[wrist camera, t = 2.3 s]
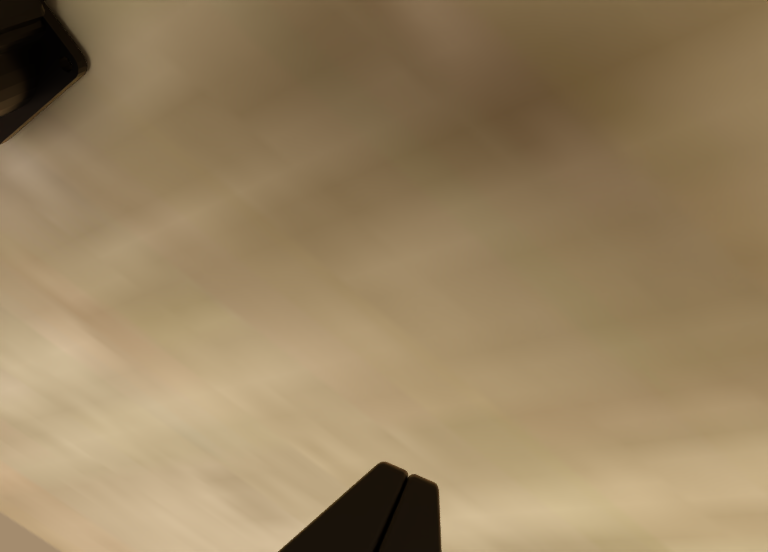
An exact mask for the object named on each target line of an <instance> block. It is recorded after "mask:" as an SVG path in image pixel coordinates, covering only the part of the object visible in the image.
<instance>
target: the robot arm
mask: <svg viewBox="0 0 768 552" xmlns="http://www.w3.org/2000/svg"><path fill="white" fill-rule="evenodd" d="M68 59H69V60H70V62H71V64H72V66H71V65H70V63H69V62H68ZM86 71H87V63H86V59H85V58H84V56H83V54H82V53H81V51H80V50H79V49H78V47H77V46H76V45H75V43H74V42H73V40H72V39H71V38H70V36H69V35H68V34H67V32H66V31H65V30H64V28H63V27H62V26H61V24H60V23H59V22H58V20H57V19H56V18H55V16H54V15H53V14H52V12H51V11H50V10H49V8H48V7H47V6H46V4H45V3H44V2H43V0H0V144H2V143H4V142H6V141H8V140H9V139H10V138H11V137H12V136H13V135H15V134H16V133H17V132H18V131H19V130H20V129H22V128H23V127H24V126H25V125H26V124H27V123H28V122H30V121H31V120H32V119H33V118H34V117H35V116H37V115H38V114H39V113H40V112H41V111H42V110H43V109H45V108H46V107H47V106H48V105H49V104H50V103H52V102H53V101H54V100H55V99H56V98H57V97H58V96H60V95H61V94H62V93H63V92H64V91H65V90H67V89H68V88H69V87H70V86H71V85H72V84H74V83H75V82H76V81H77V80H78V79H79V78H80V77H82V76H83V75H84V74H85V72H86ZM278 552H442V551H441V528H440V505H439V489H438V486H437V484H436V483H434V482H432V481H430V480H427V479H425V478H423V477H420V476H418V475H416V474H412V475H410V476H409V477H408V473H407V471H406V470H404V469H402V468H399V467H397V466H395V465H392V464H390V463H388V462H380V463H379V464H377V465H376V466H375V467H374V468H372V469H371V470H370V471H369V472H368V473H367V474H366V475H364V476H363V477H362V478H361V479H360V480H359V481H358V482H357V483H355V484H354V485H353V486H352V487H351V488H350V489H349V490H347V491H346V492H345V493H344V494H343V495H342V496H341V497H340V498H338V499H337V500H336V501H335V502H334V503H333V504H332V505H330V506H329V507H328V508H327V509H326V510H325V511H324V512H323V513H321V514H320V515H319V516H318V517H317V518H316V519H315V520H313V521H312V522H311V523H310V524H309V525H308V526H307V527H306V528H304V529H303V530H302V531H301V532H300V533H299V534H298V535H296V536H295V537H294V538H293V539H292V540H291V541H290V542H289V543H287V544H286V545H285V546H284V547H283V548H282V549H281V550H279V551H278Z"/></svg>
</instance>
